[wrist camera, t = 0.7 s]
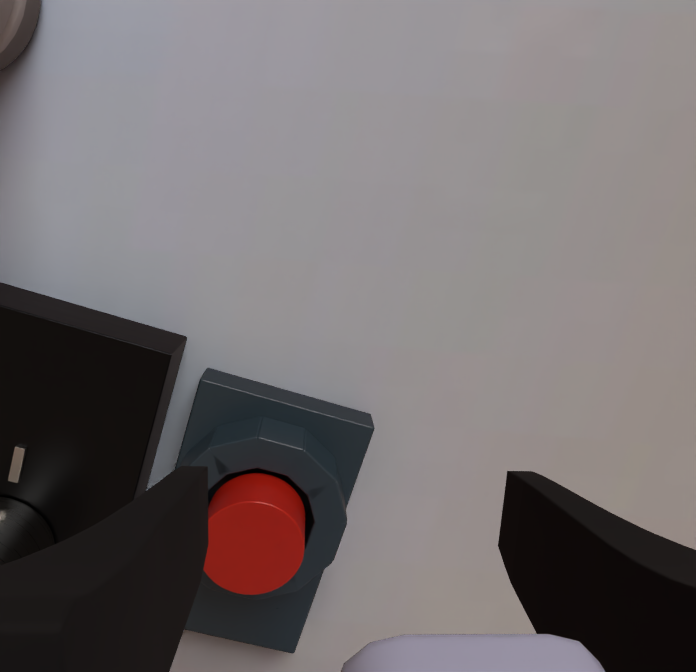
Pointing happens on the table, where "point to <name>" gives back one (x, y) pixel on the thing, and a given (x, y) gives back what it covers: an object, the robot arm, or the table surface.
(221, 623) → the button box
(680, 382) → the table surface
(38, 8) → the travel mug
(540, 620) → the robot arm
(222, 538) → the stop button
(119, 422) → the panel
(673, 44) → the table surface
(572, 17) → the table surface
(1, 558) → the burner knob
